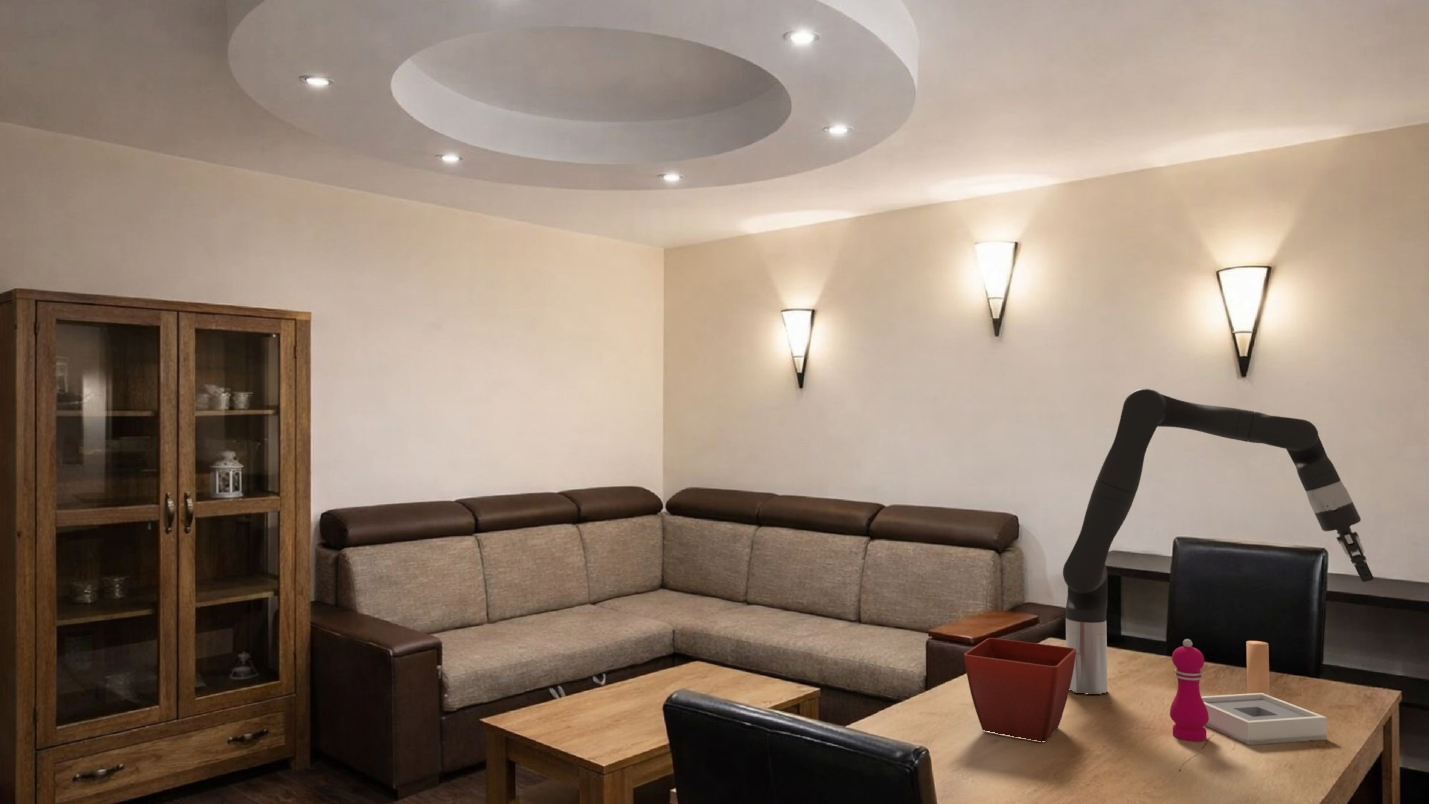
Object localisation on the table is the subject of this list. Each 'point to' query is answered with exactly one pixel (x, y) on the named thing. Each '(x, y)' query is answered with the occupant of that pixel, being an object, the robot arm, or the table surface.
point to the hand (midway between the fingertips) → (1366, 577)
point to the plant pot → (1019, 686)
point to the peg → (1257, 667)
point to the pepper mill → (1188, 694)
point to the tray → (1265, 726)
